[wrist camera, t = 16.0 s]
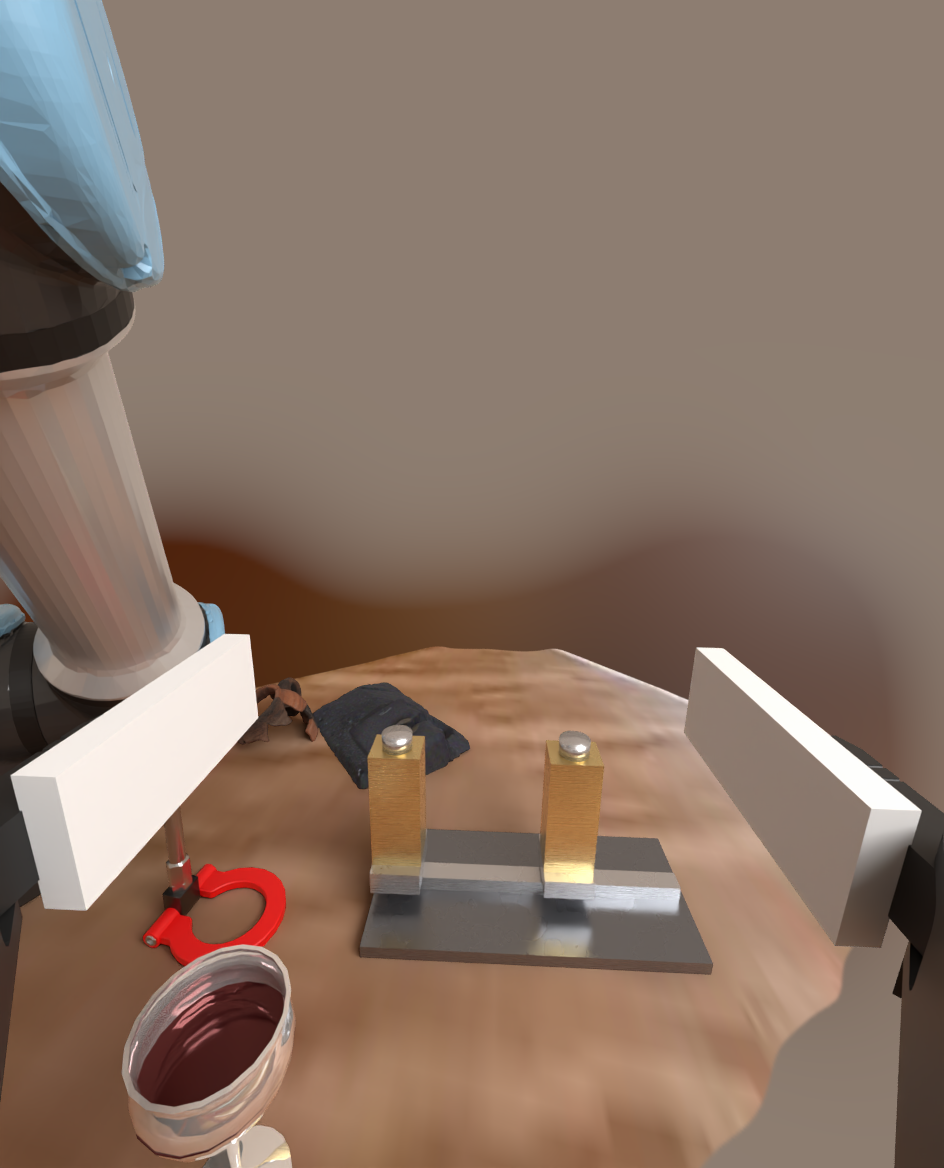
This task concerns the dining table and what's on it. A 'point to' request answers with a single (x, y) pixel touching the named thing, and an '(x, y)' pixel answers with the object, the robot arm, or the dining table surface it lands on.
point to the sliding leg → (570, 816)
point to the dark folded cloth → (382, 728)
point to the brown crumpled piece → (280, 711)
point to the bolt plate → (509, 889)
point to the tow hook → (208, 883)
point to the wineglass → (213, 1060)
